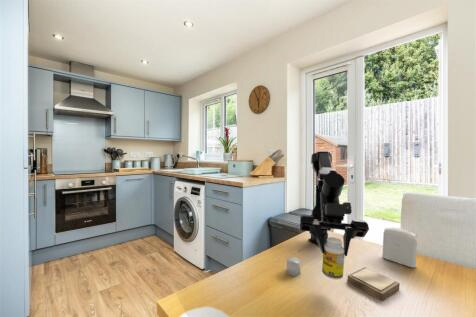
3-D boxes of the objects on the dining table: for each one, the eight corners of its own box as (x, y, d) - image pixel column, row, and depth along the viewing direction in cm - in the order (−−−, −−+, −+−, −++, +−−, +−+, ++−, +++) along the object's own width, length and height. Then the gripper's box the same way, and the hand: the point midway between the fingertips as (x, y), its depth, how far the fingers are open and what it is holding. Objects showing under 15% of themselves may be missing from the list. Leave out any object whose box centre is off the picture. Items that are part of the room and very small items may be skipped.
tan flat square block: (347, 281, 69) (347, 274, 68) (364, 272, 74) (365, 266, 74) (382, 300, 60) (382, 292, 60) (399, 289, 65) (399, 281, 65)
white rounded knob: (283, 272, 73) (284, 260, 73) (290, 267, 76) (291, 256, 76) (296, 278, 70) (296, 265, 70) (302, 272, 73) (303, 260, 73)
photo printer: (380, 257, 85) (382, 226, 84) (384, 254, 88) (386, 223, 87) (413, 269, 77) (416, 234, 76) (417, 265, 80) (419, 232, 79)
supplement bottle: (317, 270, 65) (319, 237, 65) (333, 268, 67) (335, 235, 66) (331, 282, 60) (333, 245, 59) (347, 279, 62) (349, 243, 61)
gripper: (301, 189, 68) (301, 238, 58) (368, 193, 64) (381, 248, 54) (299, 207, 76) (299, 253, 66) (359, 212, 72) (368, 263, 62)
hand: (334, 254), depth 62 cm, fingers closed on supplement bottle, 6 cm apart
